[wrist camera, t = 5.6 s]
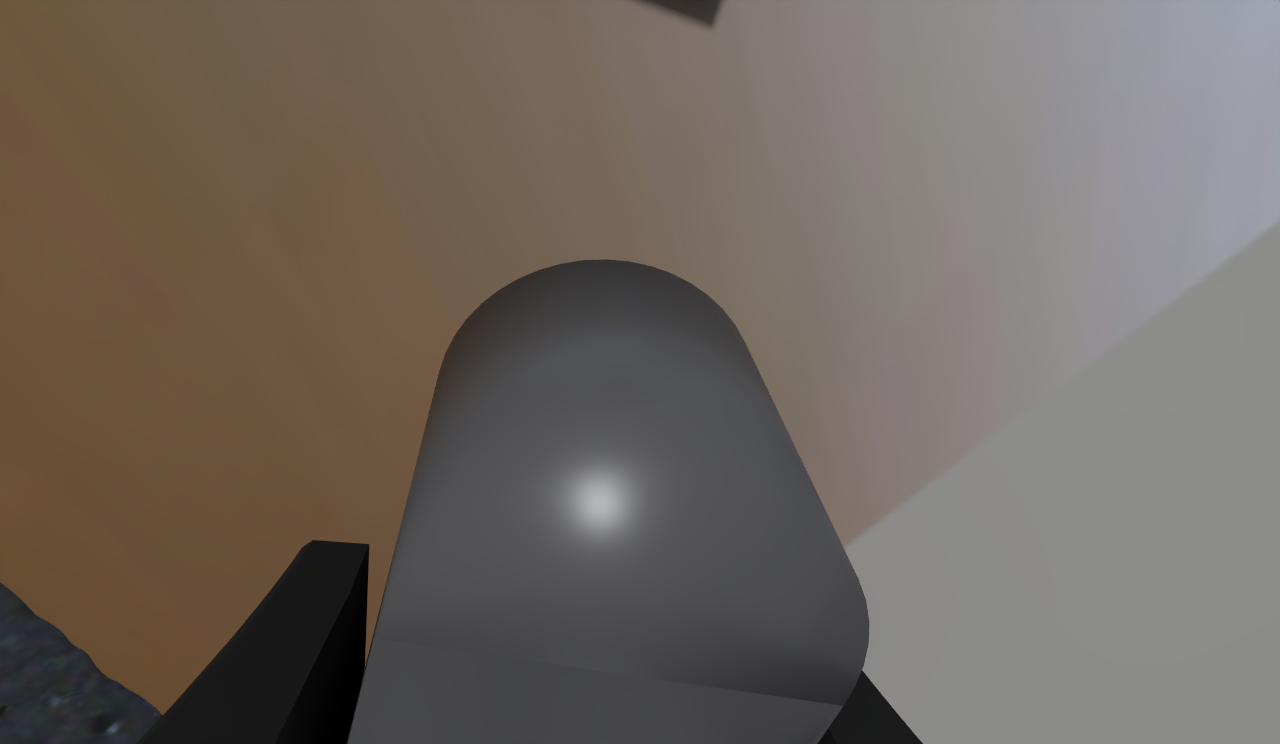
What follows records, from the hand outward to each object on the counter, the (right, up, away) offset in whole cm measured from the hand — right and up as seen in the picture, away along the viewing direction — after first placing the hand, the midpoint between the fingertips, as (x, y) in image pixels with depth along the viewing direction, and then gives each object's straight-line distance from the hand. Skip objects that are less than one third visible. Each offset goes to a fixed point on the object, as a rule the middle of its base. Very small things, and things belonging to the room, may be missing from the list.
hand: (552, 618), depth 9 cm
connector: (0, +1, +1) cm, 1 cm away
